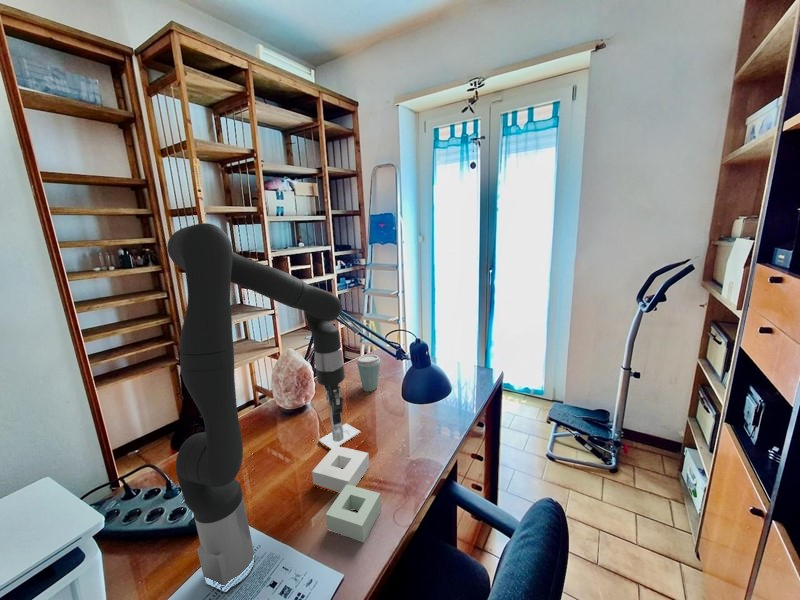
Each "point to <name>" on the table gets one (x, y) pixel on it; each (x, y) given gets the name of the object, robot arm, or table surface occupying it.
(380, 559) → the table surface
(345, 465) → the dock block
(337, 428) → the steel pin
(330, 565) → the table surface
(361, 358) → the disposable coffee cup
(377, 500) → the block
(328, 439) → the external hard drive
